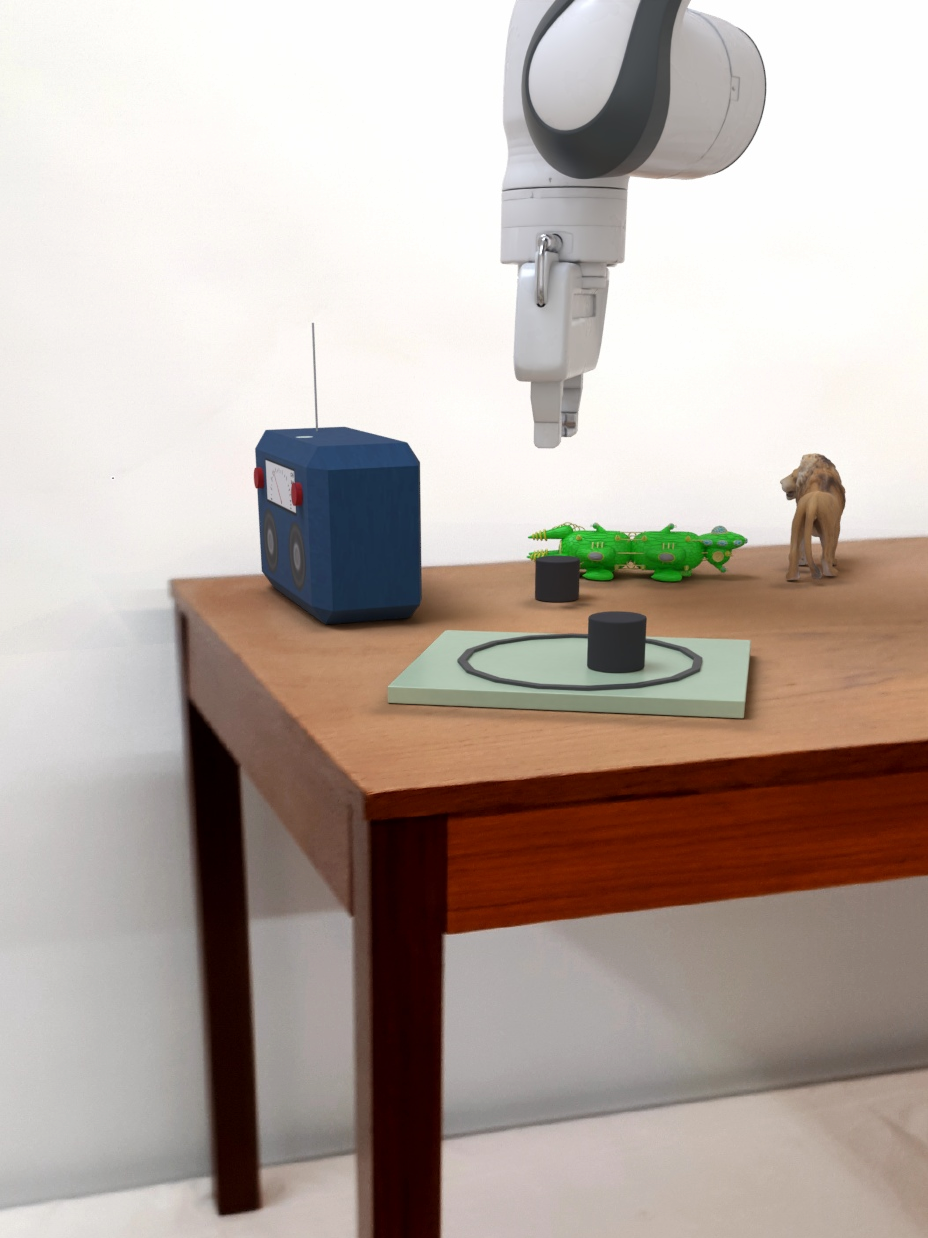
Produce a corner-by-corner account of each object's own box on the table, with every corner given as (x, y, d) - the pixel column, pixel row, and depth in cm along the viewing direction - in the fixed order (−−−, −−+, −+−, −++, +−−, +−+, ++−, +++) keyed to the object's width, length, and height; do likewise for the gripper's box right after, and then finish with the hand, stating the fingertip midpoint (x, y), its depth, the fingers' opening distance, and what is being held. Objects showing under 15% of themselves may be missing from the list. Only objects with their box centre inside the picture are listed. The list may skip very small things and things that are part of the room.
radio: (250, 584, 121) (235, 323, 114) (352, 576, 124) (344, 321, 116) (314, 632, 103) (301, 325, 95) (432, 622, 106) (429, 323, 98)
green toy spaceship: (746, 584, 118) (750, 529, 116) (523, 580, 121) (523, 527, 119) (743, 570, 124) (747, 518, 122) (531, 567, 127) (532, 516, 125)
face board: (750, 655, 94) (751, 636, 94) (743, 718, 80) (745, 697, 79) (445, 644, 99) (445, 627, 98) (387, 703, 84) (386, 682, 84)
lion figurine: (773, 557, 131) (781, 451, 127) (834, 557, 130) (844, 451, 126) (786, 585, 117) (795, 468, 114) (855, 586, 116) (866, 468, 113)
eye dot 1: (581, 594, 115) (582, 555, 114) (576, 602, 112) (577, 562, 111) (538, 593, 116) (539, 555, 114) (531, 601, 113) (532, 561, 111)
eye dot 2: (646, 661, 89) (649, 611, 87) (641, 674, 86) (644, 623, 84) (590, 659, 89) (592, 610, 88) (583, 672, 86) (585, 621, 85)
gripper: (590, 231, 94) (581, 456, 99) (621, 242, 112) (612, 431, 118) (493, 232, 95) (489, 454, 101) (539, 243, 114) (534, 430, 119)
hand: (556, 442), depth 109 cm, fingers open, 8 cm apart
